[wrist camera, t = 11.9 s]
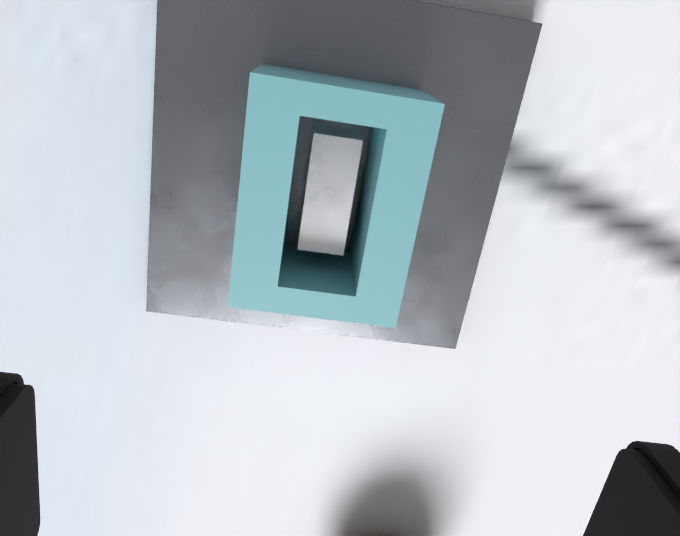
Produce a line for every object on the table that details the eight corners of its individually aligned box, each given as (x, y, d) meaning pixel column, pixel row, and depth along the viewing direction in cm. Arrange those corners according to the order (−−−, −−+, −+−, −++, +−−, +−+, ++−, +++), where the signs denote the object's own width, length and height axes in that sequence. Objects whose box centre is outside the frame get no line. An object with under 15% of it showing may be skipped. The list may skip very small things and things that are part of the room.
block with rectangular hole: (262, 63, 25) (250, 72, 20) (421, 89, 25) (444, 103, 21) (242, 261, 28) (227, 307, 24) (383, 280, 29) (395, 327, 24)
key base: (450, 337, 32) (469, 380, 28) (152, 300, 30) (128, 341, 26) (532, 23, 26) (570, 23, 22) (166, -42, 24) (137, -55, 20)
